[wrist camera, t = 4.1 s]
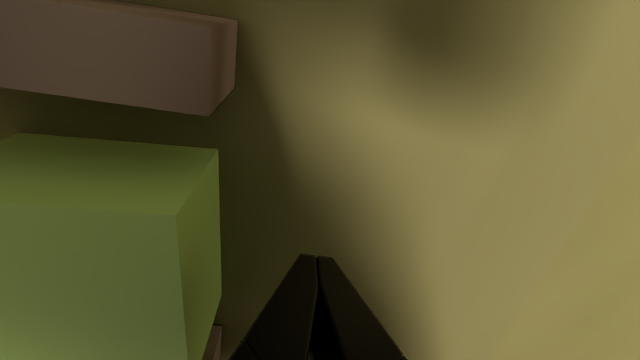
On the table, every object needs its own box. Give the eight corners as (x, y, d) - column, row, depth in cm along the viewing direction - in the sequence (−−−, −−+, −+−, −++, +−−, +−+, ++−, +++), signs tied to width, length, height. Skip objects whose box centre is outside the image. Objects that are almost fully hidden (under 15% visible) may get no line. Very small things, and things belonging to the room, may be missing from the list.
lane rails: (238, 20, 8) (210, 27, 6) (220, 356, 13) (201, 431, 11) (-267, -63, 7) (-524, -92, 5) (-88, 330, 12) (-180, 406, 10)
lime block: (219, 146, 10) (175, 215, 7) (222, 291, 12) (190, 395, 9) (22, 130, 9) (-123, 194, 6) (62, 281, 12) (-31, 385, 8)
